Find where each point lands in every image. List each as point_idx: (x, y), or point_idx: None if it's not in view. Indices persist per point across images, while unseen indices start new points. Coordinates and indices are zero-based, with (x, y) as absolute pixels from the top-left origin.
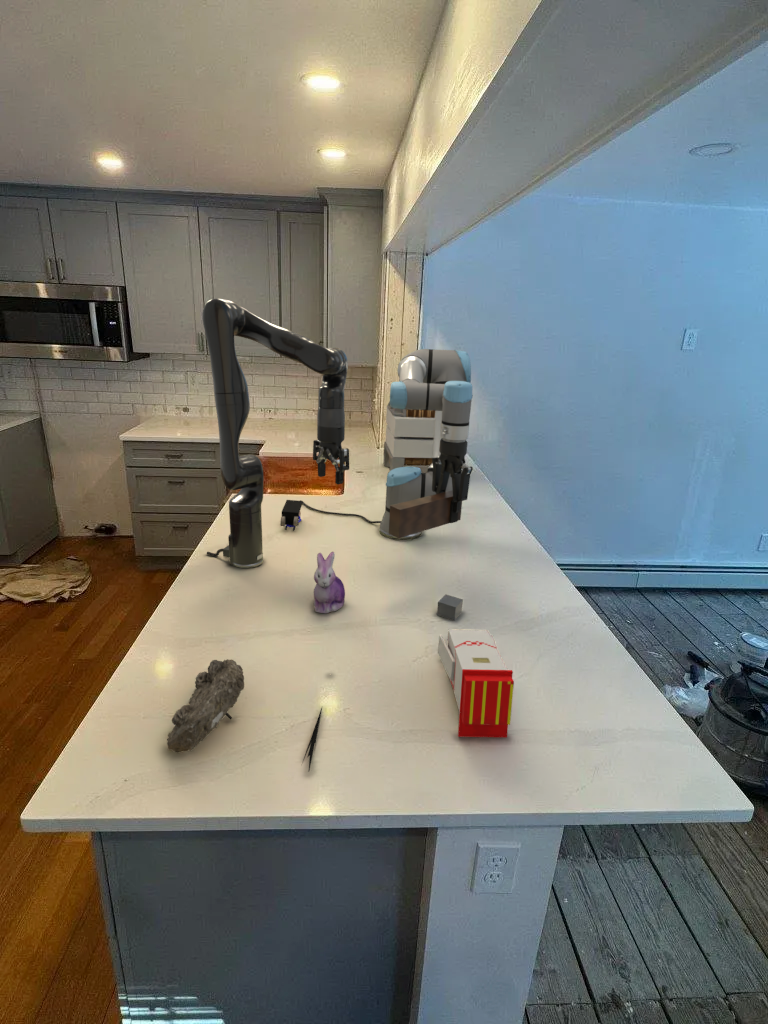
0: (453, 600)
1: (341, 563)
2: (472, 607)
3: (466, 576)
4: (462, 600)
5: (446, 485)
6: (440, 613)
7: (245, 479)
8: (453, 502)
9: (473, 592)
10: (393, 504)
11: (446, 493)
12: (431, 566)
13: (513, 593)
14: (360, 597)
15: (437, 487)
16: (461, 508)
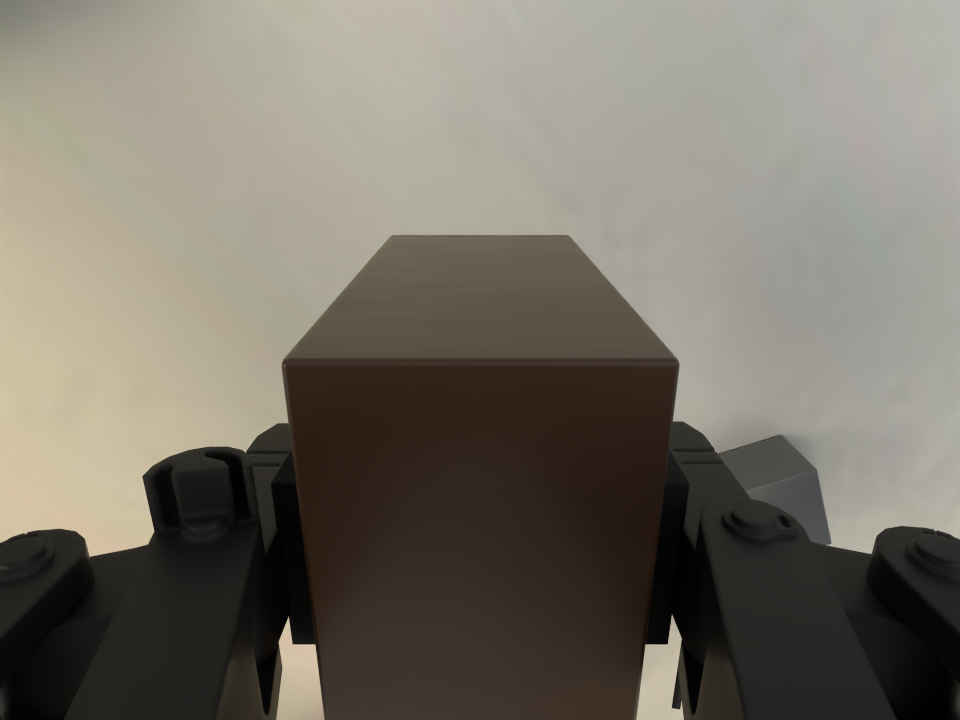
0: (788, 511)
1: None
2: (791, 361)
3: (557, 112)
4: (816, 473)
5: (228, 713)
6: None
7: None
8: (662, 608)
9: (707, 238)
10: None
11: (418, 661)
12: (334, 190)
13: (885, 47)
14: None
15: (41, 677)
16: (598, 269)
